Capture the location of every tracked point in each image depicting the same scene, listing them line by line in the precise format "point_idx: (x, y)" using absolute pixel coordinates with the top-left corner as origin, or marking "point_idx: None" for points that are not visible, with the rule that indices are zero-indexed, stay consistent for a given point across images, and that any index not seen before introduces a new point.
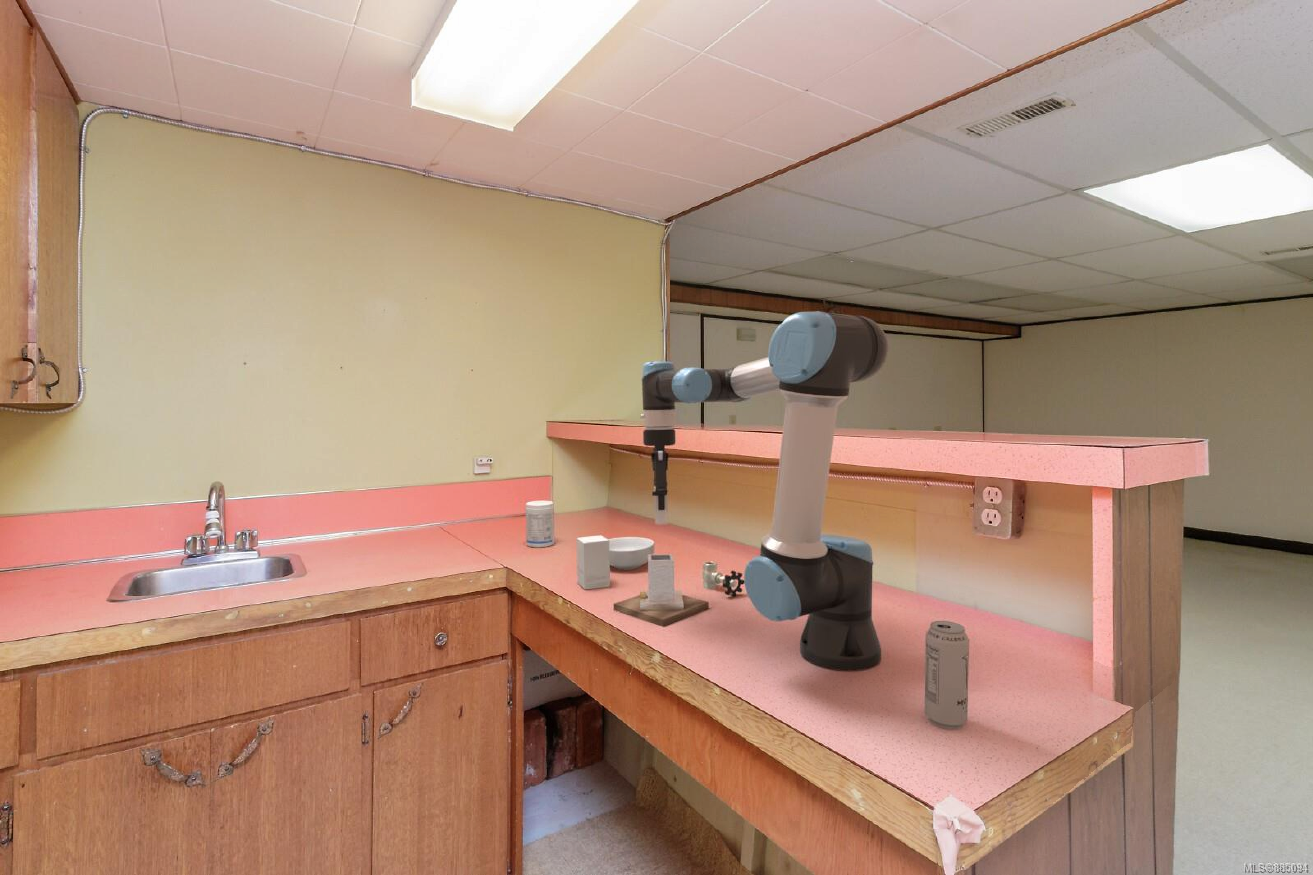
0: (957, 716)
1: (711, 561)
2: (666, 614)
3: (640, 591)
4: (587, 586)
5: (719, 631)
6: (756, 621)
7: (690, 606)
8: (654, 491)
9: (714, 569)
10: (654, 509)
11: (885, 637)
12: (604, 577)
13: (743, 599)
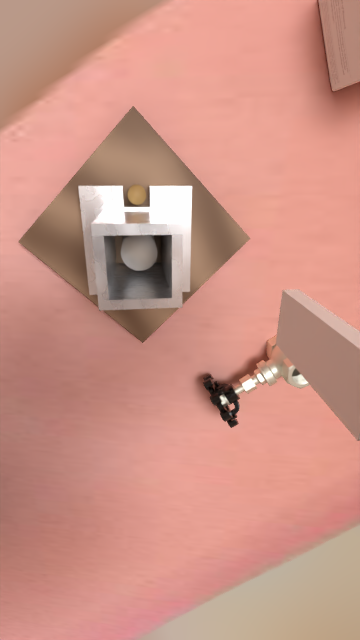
0: None
1: None
2: (55, 251)
3: (184, 187)
4: (324, 6)
5: (9, 349)
6: (70, 411)
7: None
8: (355, 348)
9: (282, 376)
10: (293, 297)
11: (16, 553)
12: (344, 64)
13: (193, 399)
